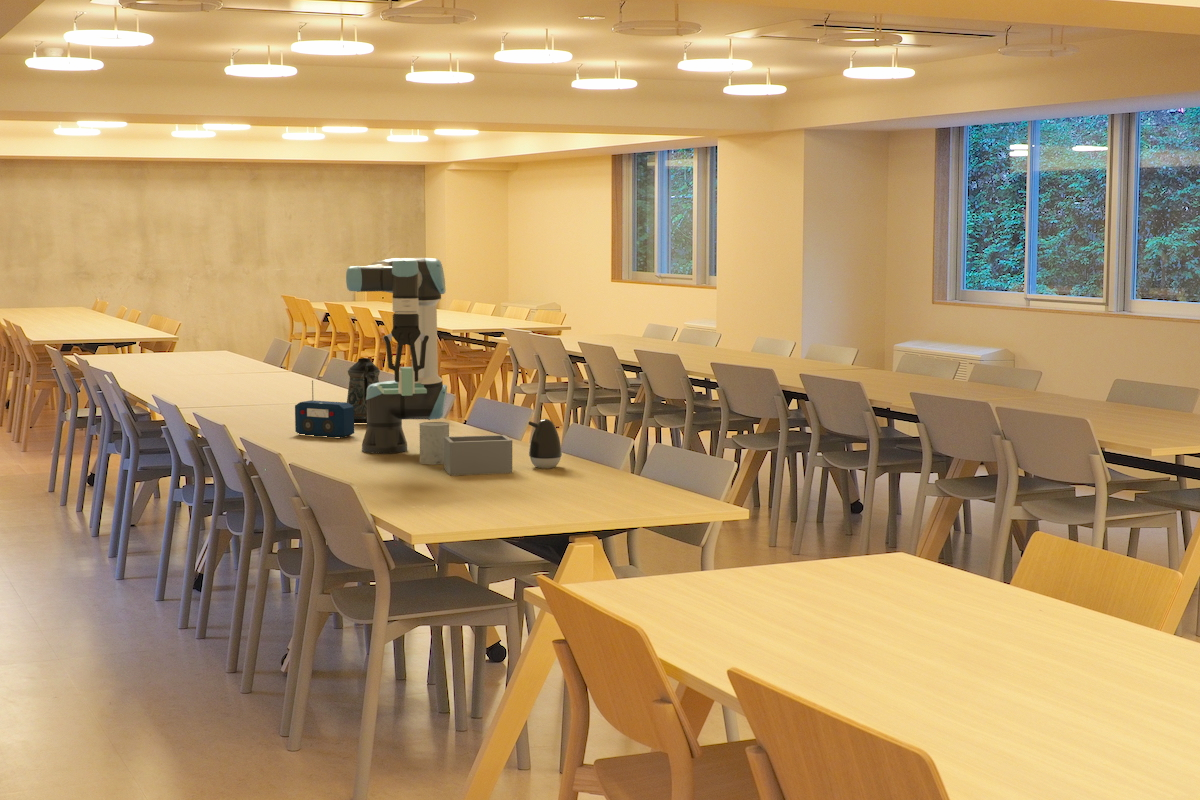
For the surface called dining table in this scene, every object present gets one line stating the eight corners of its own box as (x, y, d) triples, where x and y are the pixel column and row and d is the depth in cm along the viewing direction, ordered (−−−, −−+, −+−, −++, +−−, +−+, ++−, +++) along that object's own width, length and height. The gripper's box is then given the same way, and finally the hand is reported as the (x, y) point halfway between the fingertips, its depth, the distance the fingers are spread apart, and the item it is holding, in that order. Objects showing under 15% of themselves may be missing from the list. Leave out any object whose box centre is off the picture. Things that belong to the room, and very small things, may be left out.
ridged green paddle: (385, 396, 373) (385, 368, 372) (377, 387, 397) (377, 361, 396) (429, 395, 376) (428, 367, 376) (418, 386, 400) (418, 361, 399)
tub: (444, 468, 397) (444, 436, 396) (504, 466, 402) (504, 434, 401) (450, 475, 385) (450, 442, 384) (512, 472, 390) (512, 440, 389)
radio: (293, 435, 466) (292, 380, 463) (307, 432, 474) (306, 378, 471) (342, 439, 458) (341, 383, 455) (355, 436, 466) (354, 381, 463)
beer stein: (365, 418, 515) (364, 356, 512) (400, 422, 504) (399, 358, 501) (334, 422, 502) (333, 358, 499) (369, 426, 490) (368, 361, 488)
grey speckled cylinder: (444, 464, 404) (443, 426, 403) (415, 463, 406) (414, 425, 405) (453, 460, 414) (453, 422, 412) (425, 459, 416) (425, 421, 414)
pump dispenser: (529, 464, 406) (529, 416, 404) (562, 464, 406) (562, 416, 405) (527, 469, 396) (527, 421, 394) (561, 470, 396) (561, 421, 394)
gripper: (379, 313, 369) (380, 395, 371) (435, 313, 373) (435, 393, 375) (376, 312, 376) (377, 392, 378) (431, 312, 380) (432, 391, 383)
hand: (406, 392), depth 377 cm, fingers closed on ridged green paddle, 3 cm apart
